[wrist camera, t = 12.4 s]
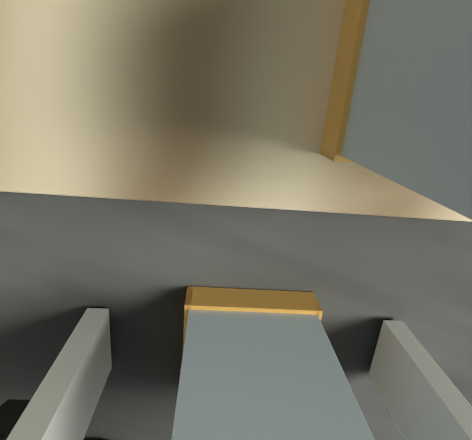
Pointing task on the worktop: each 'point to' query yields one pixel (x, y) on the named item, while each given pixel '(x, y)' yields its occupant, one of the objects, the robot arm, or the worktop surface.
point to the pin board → (181, 105)
